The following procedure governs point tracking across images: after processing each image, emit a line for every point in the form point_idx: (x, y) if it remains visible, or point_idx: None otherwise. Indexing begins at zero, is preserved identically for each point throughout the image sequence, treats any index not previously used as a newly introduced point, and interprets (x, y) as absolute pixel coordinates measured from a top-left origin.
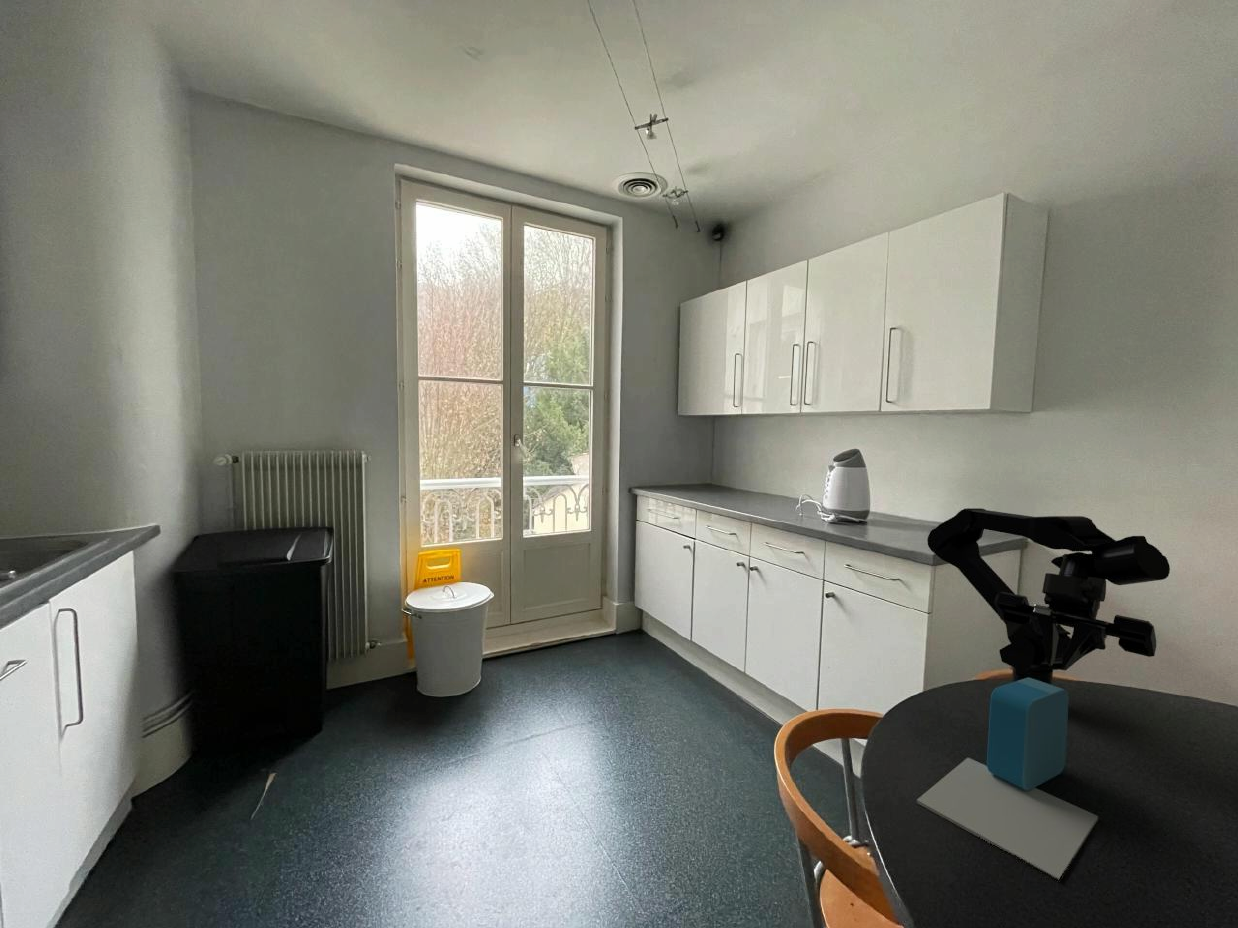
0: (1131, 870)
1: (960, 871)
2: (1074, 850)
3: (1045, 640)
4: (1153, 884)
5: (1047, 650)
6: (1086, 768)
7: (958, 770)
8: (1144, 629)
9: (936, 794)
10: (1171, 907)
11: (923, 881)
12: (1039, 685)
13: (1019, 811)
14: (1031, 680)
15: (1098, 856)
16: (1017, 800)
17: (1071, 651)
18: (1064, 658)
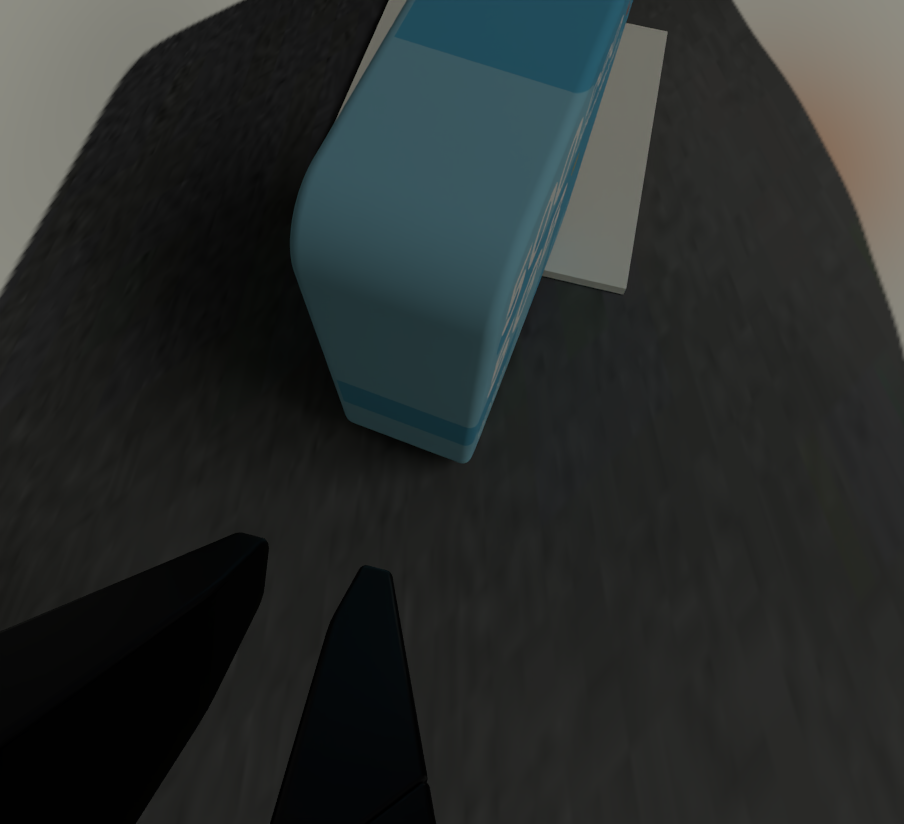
0: (267, 81)
1: None
2: (366, 58)
3: (402, 782)
4: (237, 66)
5: (380, 648)
6: (272, 524)
7: (628, 199)
8: None
9: (640, 73)
10: (225, 27)
11: None
12: (450, 125)
13: None
14: (497, 180)
15: (321, 86)
16: None
17: (66, 632)
18: (206, 571)
